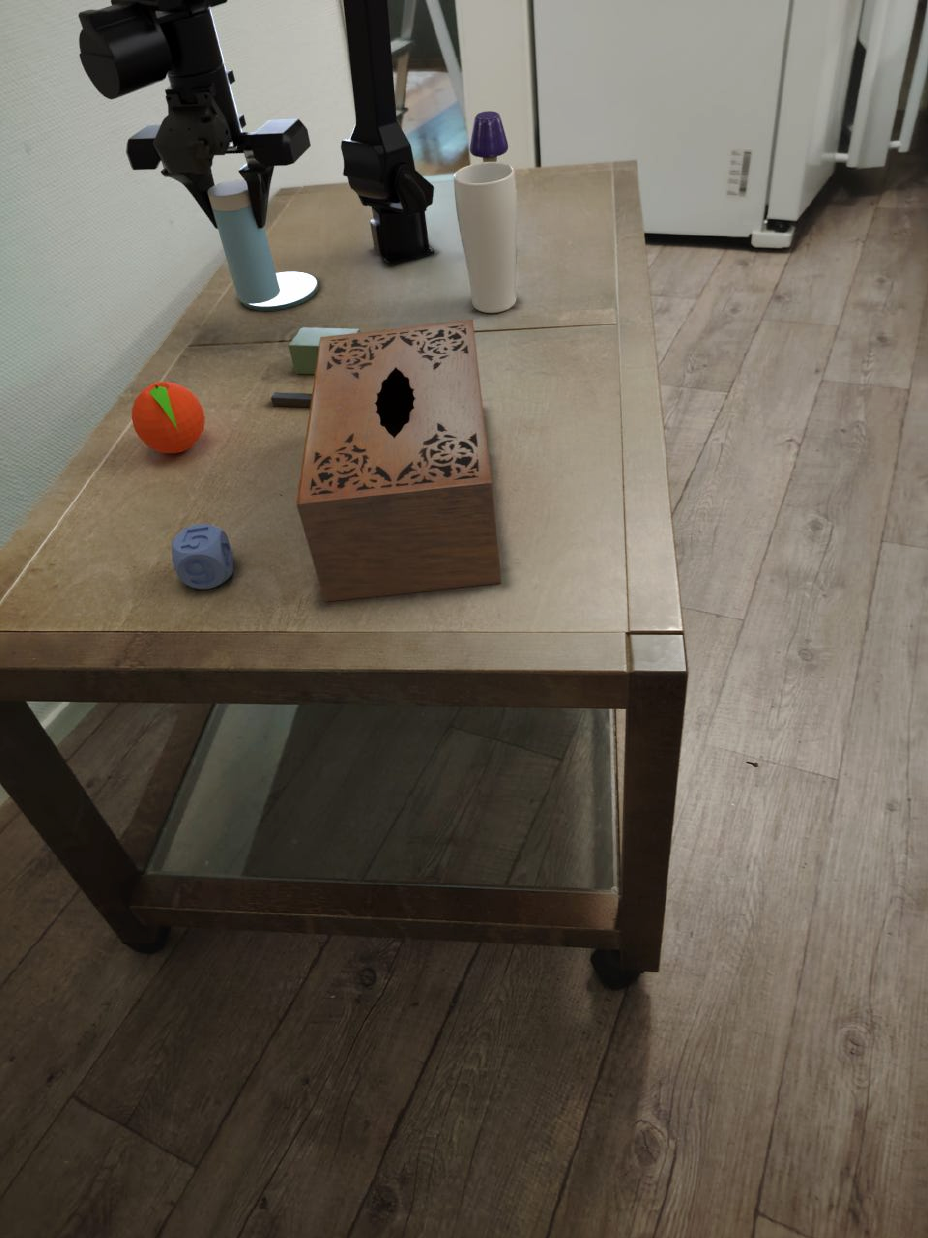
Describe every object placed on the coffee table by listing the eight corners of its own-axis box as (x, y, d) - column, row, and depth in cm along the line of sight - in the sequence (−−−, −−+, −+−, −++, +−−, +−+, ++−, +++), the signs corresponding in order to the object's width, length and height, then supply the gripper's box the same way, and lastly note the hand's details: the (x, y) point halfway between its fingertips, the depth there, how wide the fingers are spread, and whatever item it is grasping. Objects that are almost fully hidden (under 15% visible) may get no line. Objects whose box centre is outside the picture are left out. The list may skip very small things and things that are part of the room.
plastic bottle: (254, 214, 107) (202, 163, 95) (292, 213, 106) (245, 162, 94) (245, 313, 107) (192, 275, 96) (283, 314, 106) (234, 275, 94)
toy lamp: (519, 248, 117) (512, 108, 106) (506, 263, 115) (496, 121, 103) (486, 245, 119) (475, 107, 107) (472, 260, 116) (459, 119, 105)
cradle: (308, 355, 103) (301, 326, 100) (365, 357, 101) (359, 328, 98) (272, 405, 95) (264, 376, 93) (333, 408, 94) (326, 379, 91)
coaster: (306, 269, 120) (305, 264, 119) (327, 297, 113) (326, 292, 112) (234, 288, 118) (232, 283, 117) (250, 318, 111) (249, 313, 110)
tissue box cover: (501, 583, 72) (491, 482, 65) (325, 601, 73) (296, 504, 66) (482, 411, 90) (472, 318, 83) (341, 427, 91) (320, 336, 84)
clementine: (225, 455, 89) (203, 393, 84) (158, 480, 88) (132, 418, 83) (202, 420, 95) (180, 359, 90) (138, 443, 93) (112, 382, 88)
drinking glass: (458, 315, 106) (443, 182, 95) (478, 289, 110) (466, 160, 100) (511, 320, 104) (502, 185, 93) (530, 293, 108) (524, 161, 97)
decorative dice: (234, 555, 78) (221, 519, 75) (231, 586, 75) (217, 550, 72) (189, 562, 78) (174, 527, 75) (184, 593, 75) (169, 557, 72)
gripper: (72, 98, 85) (132, 259, 96) (250, 89, 81) (291, 258, 92) (128, 64, 93) (177, 217, 104) (293, 53, 88) (327, 214, 99)
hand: (240, 227), depth 99 cm, fingers closed on plastic bottle, 5 cm apart
